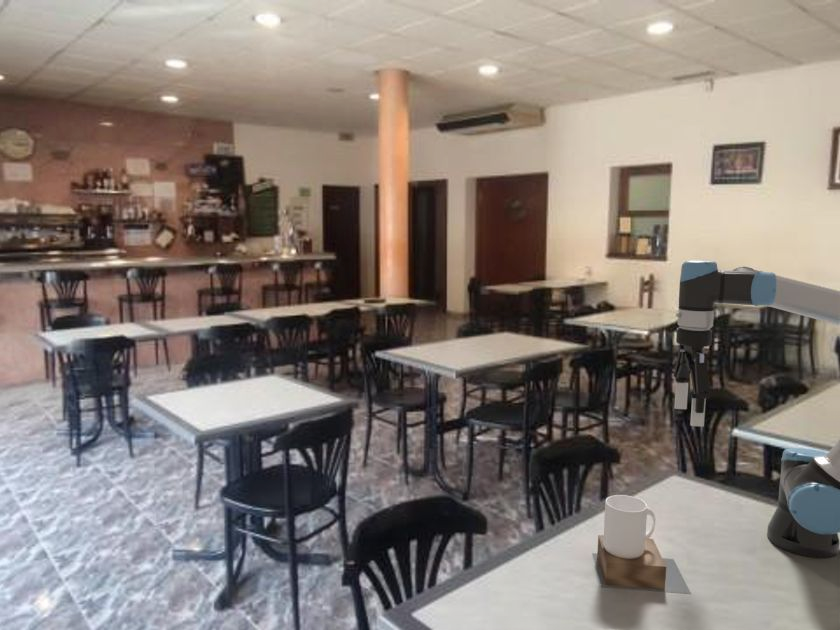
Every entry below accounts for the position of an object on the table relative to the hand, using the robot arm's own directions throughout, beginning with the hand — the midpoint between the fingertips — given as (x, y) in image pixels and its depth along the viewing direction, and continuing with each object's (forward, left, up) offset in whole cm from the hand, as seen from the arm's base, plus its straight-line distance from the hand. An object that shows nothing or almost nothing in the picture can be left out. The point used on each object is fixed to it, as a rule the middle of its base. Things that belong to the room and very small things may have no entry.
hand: (688, 417), depth 150 cm
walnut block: (+15, +17, -30) cm, 38 cm away
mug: (+15, +16, -26) cm, 34 cm away
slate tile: (+13, +17, -32) cm, 38 cm away
